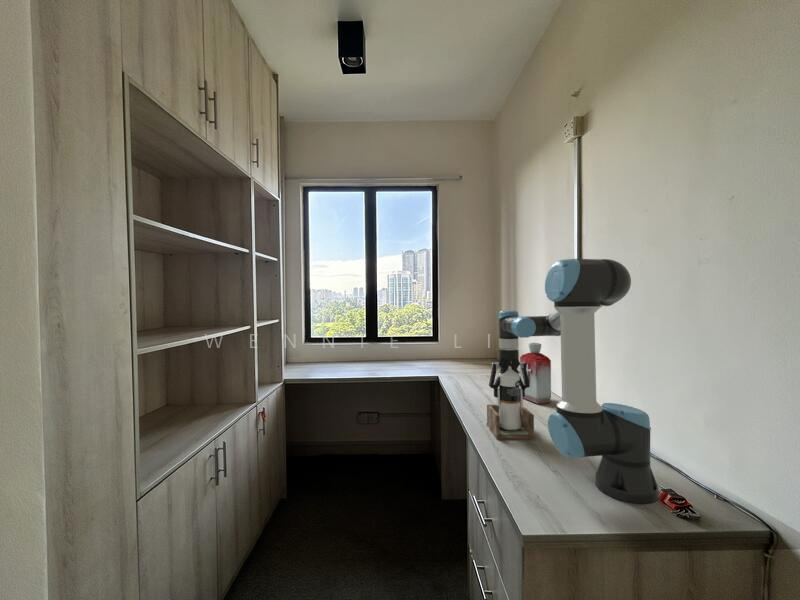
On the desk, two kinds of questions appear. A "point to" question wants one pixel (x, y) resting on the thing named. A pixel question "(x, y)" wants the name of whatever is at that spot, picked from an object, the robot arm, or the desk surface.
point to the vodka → (509, 400)
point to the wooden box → (503, 434)
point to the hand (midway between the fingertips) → (509, 405)
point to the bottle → (537, 375)
